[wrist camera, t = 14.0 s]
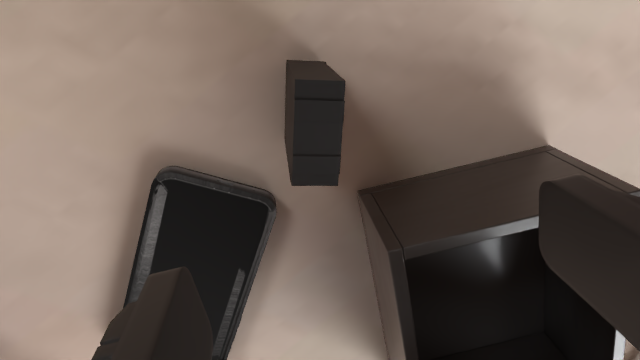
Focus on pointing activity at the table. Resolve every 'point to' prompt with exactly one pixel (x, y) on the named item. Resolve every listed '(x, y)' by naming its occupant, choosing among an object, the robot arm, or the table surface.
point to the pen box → (479, 265)
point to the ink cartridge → (313, 123)
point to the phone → (205, 242)
